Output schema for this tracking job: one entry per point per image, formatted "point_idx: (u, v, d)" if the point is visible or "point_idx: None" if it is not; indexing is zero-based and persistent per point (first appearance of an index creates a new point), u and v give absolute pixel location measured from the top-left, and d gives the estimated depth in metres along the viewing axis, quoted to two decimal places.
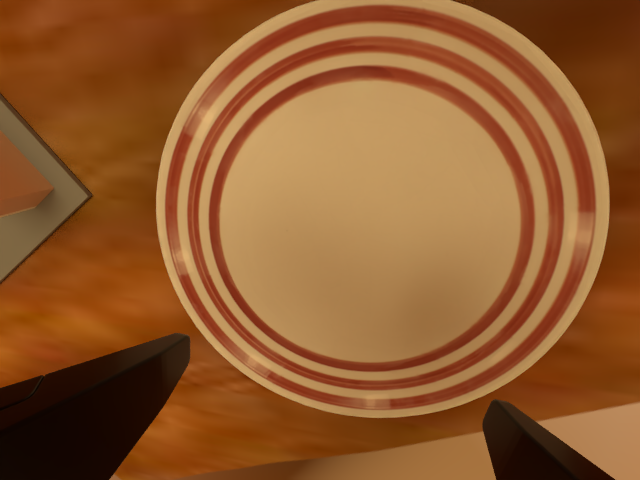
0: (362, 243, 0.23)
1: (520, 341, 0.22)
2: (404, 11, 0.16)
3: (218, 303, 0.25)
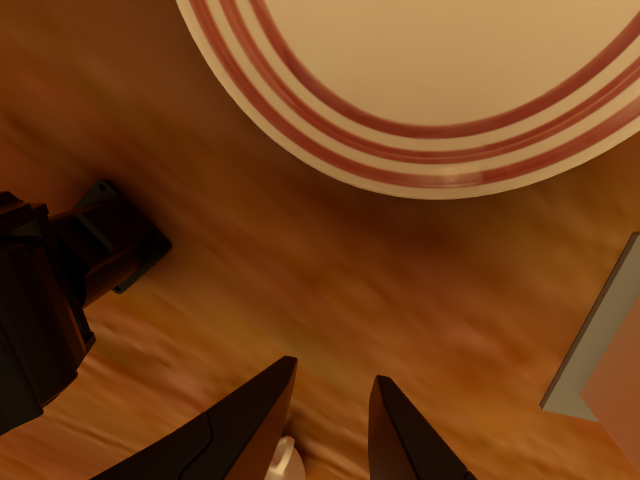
0: None
1: None
2: (239, 83, 0.17)
3: None
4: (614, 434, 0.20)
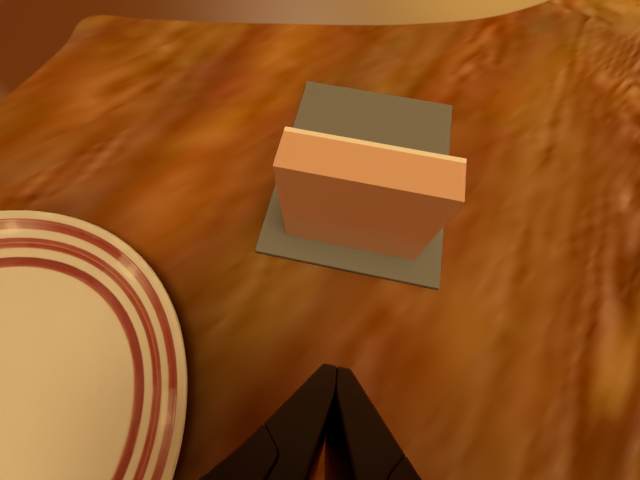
0: None
1: None
2: None
3: (80, 252, 0.24)
4: (423, 242, 0.22)
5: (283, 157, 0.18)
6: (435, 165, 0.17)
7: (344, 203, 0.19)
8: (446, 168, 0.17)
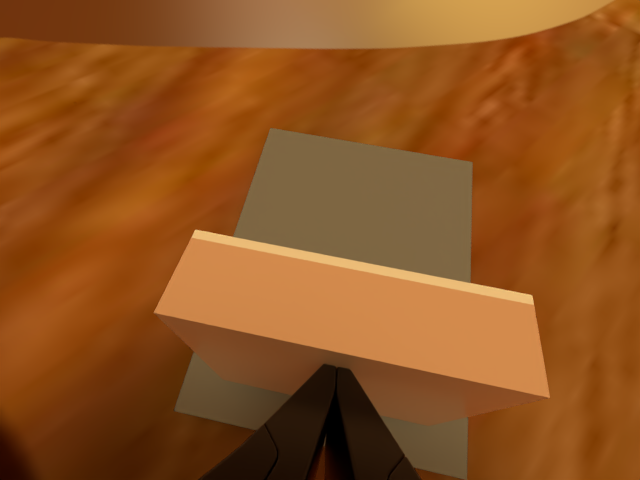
0: None
1: None
2: None
3: None
4: (448, 417, 0.13)
5: (179, 293, 0.09)
6: (476, 310, 0.09)
7: (305, 367, 0.10)
8: (499, 316, 0.09)
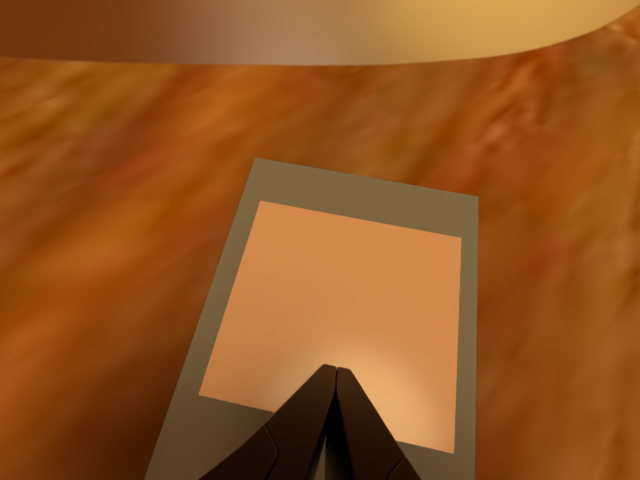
0: None
1: None
2: None
3: None
4: (449, 357, 0.14)
5: None
6: None
7: (330, 260, 0.15)
8: None
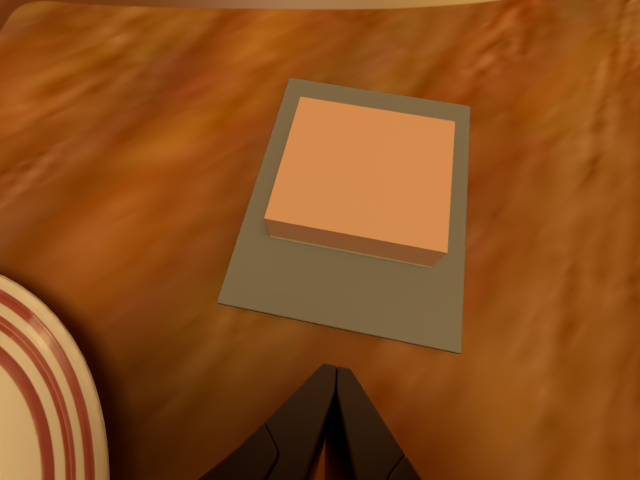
0: None
1: None
2: None
3: None
4: (444, 196, 0.19)
5: None
6: None
7: (355, 135, 0.20)
8: None
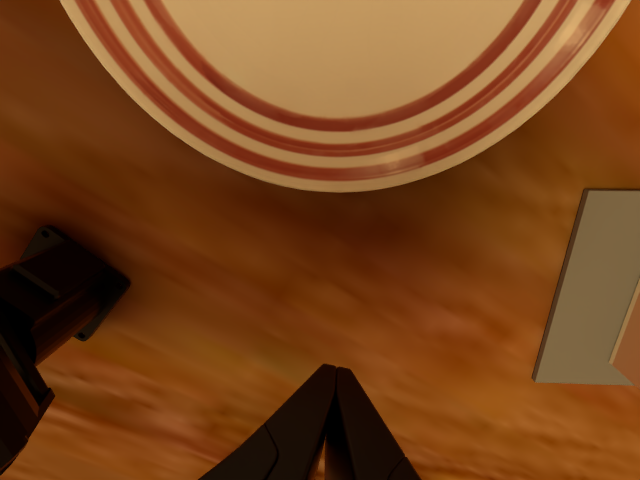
0: None
1: None
2: (162, 105, 0.17)
3: None
4: None
5: None
6: None
7: None
8: None
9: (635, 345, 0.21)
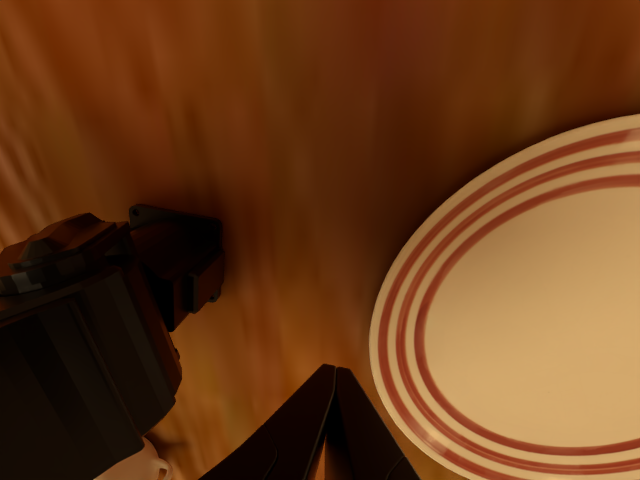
0: (584, 332, 0.21)
1: None
2: (387, 304, 0.21)
3: (616, 468, 0.24)
4: None
5: None
6: None
7: None
8: None
9: None
